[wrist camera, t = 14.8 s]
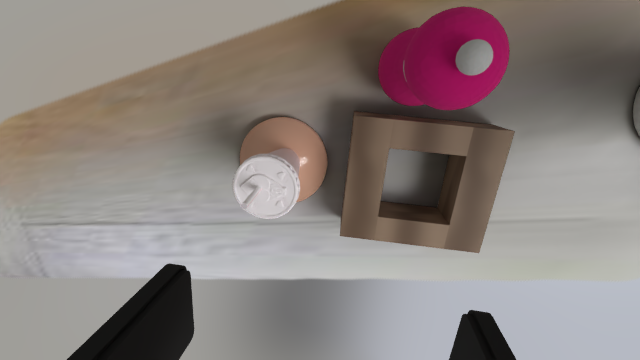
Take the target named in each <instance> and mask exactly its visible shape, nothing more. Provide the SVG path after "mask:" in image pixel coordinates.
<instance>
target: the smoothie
mask: <svg viewBox="0 0 640 360" xmlns="http://www.w3.org/2000/svg"><path fill="white" fill-rule="evenodd" d="M299 168H300V160H299V157H298V155H297V154H296V153H295V152H294V151H293V150H291V149H288V148H281V149H278V150H275V151H273V152H270V153H268V154H257V155H254V156H251V157H250V158H248V159H247V160H245V161H244V162H243V163H242V164H241V165H240V166H239V168H238V169H237V171H236V173H235V175H234V178H233V191H234V195H235V197H236V199H237V201H238V203H239V204H240V206H241V208H242V209H244V210H246V211H247V212H248V213H250V214H251V215H253V216H256V217H259V218H264V219H273V218H278V217H280V216H283V215H284V214H286V213H287V212H288V211H290V210H291V208H292V207H293V206H294V205H295V203H296V201H297V199H298V197H299V193H300V181H299V178H298V176H299Z"/></svg>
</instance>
